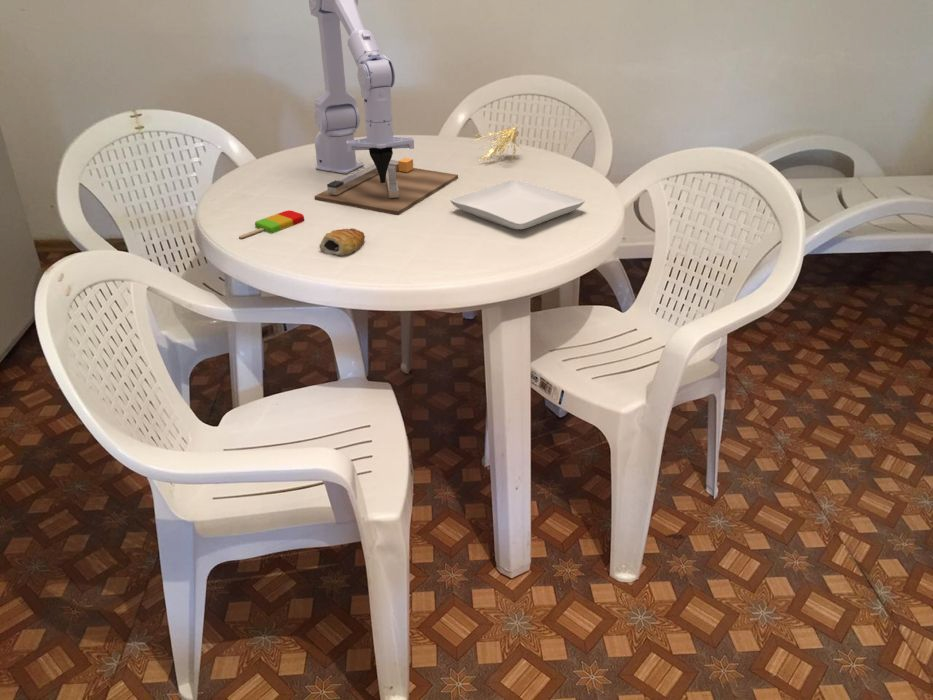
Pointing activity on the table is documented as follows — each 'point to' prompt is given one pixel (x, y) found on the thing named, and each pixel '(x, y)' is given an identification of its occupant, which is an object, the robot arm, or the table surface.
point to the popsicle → (276, 222)
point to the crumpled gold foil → (502, 141)
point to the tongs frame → (355, 179)
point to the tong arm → (392, 182)
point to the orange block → (405, 164)
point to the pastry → (342, 241)
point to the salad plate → (517, 203)
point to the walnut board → (376, 195)
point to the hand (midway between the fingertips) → (382, 181)
